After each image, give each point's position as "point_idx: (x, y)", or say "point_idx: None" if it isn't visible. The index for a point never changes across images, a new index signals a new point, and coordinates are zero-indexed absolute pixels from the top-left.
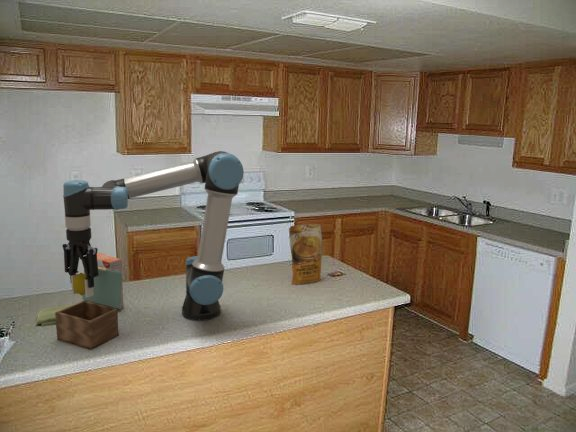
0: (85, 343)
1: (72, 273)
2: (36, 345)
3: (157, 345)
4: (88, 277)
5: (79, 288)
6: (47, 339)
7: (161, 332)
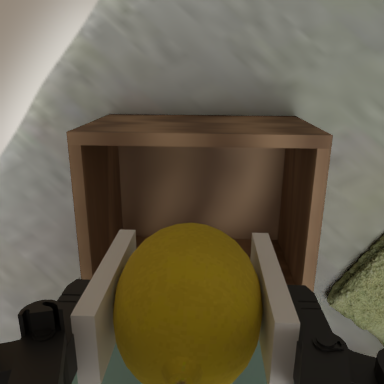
0: (135, 117)
1: (301, 356)
2: (334, 40)
3: None
4: (21, 331)
5: (151, 238)
6: (334, 100)
7: (15, 313)
